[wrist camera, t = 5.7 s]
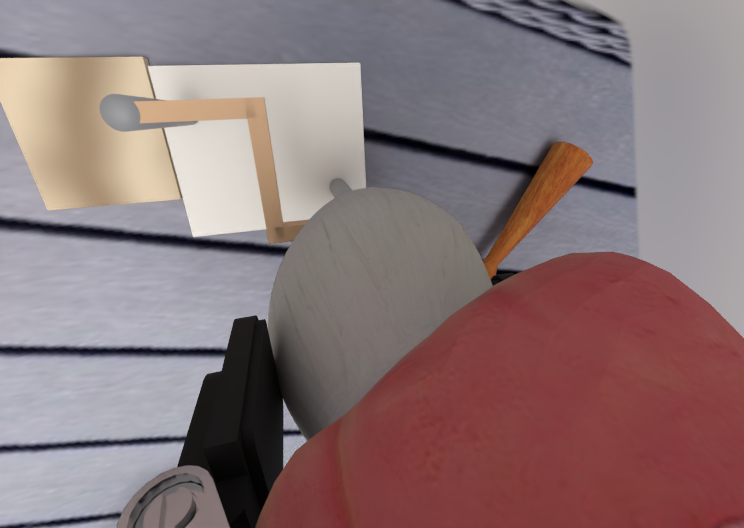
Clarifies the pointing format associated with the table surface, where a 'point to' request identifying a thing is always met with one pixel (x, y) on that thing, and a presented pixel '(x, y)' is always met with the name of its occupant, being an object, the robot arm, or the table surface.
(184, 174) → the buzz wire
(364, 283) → the decorative ornament
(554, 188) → the purple maraca
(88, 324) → the table surface
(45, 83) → the cork pad
